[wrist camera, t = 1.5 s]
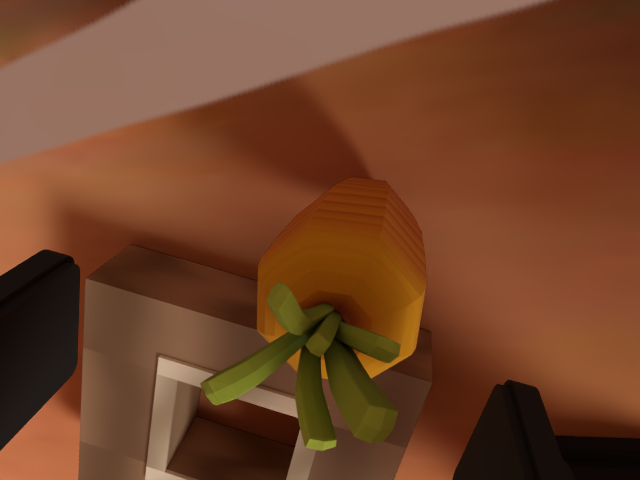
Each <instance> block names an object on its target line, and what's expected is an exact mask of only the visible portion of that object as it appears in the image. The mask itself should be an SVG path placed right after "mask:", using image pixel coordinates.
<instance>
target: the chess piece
mask: <svg viewBox="0 0 640 480" xmlns="http://www.w3.org/2000/svg"><path fill="white" fill-rule="evenodd" d="M555 439H556V441H557V444H558V447H559V450H560V453H561V456H562V458H563V461H564V462H565V463H567V464H568V465H569V467H570V469H571V470H572V472H573V475H574V478H575V480H640V439H631V438H603V437H574V436H555Z"/></svg>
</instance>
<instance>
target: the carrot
mask: <svg viewBox="0 0 640 480" xmlns="http://www.w3.org/2000/svg"><path fill="white" fill-rule="evenodd" d="M426 284H427V276H426V263H425V251H424V245H423V238H422V232H421V230H420V228H419V226H418V224H417V222H416V220H415V218H414V216H413V215H412V213H411V212H410V210H409V209H408V207H407V206H406V205H405V204H404V202H403V201H402V200H401V199H400V198H399V196H398V195H397V194H396V193H395V192H394V190H393V189H392V188H391V187H390V185H389V184H388V183H387V182H386V181H381V180H373V179H364V178H355V177H350V178H347V179H345V180H342V181H341V182H339V183H337V184H336V185H334V186H333V187H332V188H331V189H329V190H328V191H327V192H326V193H324V194H323V195H322V196H321V197H319V198H318V199H317V200H316V201H314V202H313V203H312V204H311V205H309V206H308V207H307V208H305V209H304V210H303V211H302V212H300V213H299V214H298V215H297V216H296V217H295V218H294V219H293V220H292V221H291V222H290V223H289V225H288V226H287V227H286V228H285V229H284V230H283V231H282V232H281V233H280V235H279V236H278V237H277V238H276V240H275V241H274V242H273V244H272V245H271V246H270V247H269V249H268V250H267V251H266V253H265V254H264V255H263V256H262V258H261V260H260V262H259V264H258V290H257V331H258V332H259V333H260V334H261V335H262V336H263V337H264V338H265V339H266V340H267V341H268V342H269V344H267V345H266V346H264V347H262V348H261V349H259V350H257V351H256V352H254V353H252V354H251V355H249V356H247V357H246V358H244V359H242V360H241V361H239V362H237V363H235V364H233V365H231V366H229V367H227V368H225V369H223V370H221V371H219V372H217V373H215V374H214V375H212V376H211V377H209V378H207V379H206V380H204V381H203V382H201V383H200V385H201V387H202V390H203V392H204V394H205V396H206V397H207V398H208V399H209V400H210V402H211V403H212V404H213V405H219V404H222V403H225V402H228V401H231V400H234V399H236V398H237V397H239V396H241V395H242V394H244V393H246V392H247V391H249V390H251V389H252V388H254V387H256V386H257V385H259V384H260V383H261V382H262V381H264V380H265V379H266V378H267V377H268V376H269V375H271V374H272V373H273V372H274V371H275V370H276V369H278V368H279V367H280V366H281V365H282V364H283V363H285V362H286V361H287V362H288V363H289V364H290V366H291V367H292V368H293V369H294V370H295V371H296V372H297V379H296V388H295V401H296V408H297V415H298V421H299V427H300V430H301V434H302V438H303V442H304V445H305V447H306V448H310V449H315V450H320V451H323V450H326V449H330V448H333V447H336V441H337V440H336V436H335V432H334V428H333V424H332V420H331V416H330V413H329V410H328V406H327V403H326V399H325V396H324V392H323V389H322V378H324V379H328V381H329V385H330V390H331V392H332V395H333V397H334V399H335V401H336V404H337V406H338V408H339V411H340V413H341V415H342V417H343V418H344V420H345V422H346V424H347V425H348V427H349V429H350V430H351V432H352V434H353V435H354V437H356V438H359V439H361V440H363V441H366V442H368V443H378V442H383V441H384V440H385V439H386V438H387V436H388V435H389V434H390V433H391V432H392V430H393V428H394V425H395V422H396V418H397V415H398V411H397V410H396V409H395V407H394V406H393V404H392V403H391V402H390V400H389V399H388V398H387V396H386V395H385V394H384V393H383V392H382V391H381V389H380V388H379V387H378V386H377V385H376V384H375V383H374V381H373V380H372V379H371V378H373V377H375V376H376V375H378V374H380V373H381V372H383V371H385V370H386V369H388V368H390V367H392V366H393V365H395V364H397V363H398V362H400V361H402V360H404V359H405V358H407V357H409V356H410V355H412V353H413V352H414V350H415V349H416V344H417V339H418V333H419V327H420V320H421V314H422V308H423V302H424V296H425V290H426Z"/></svg>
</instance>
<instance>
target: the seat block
mask: <svg viewBox="0 0 640 480" xmlns="http://www.w3.org/2000/svg"><path fill="white" fill-rule="evenodd" d="M257 290H258V281H255V280H252V279H248V278H245V277H241V276H238V275H235V274H231V273H228V272H224V271H221V270H218V269H214V268H211V267H207V266H204V265H201V264H197V263H194V262H190V261H187V260H183V259H180V258H177V257H173V256H170V255H166V254H163V253H160V252H156V251H153V250H149V249H146V248H143V247H139V246H136V245H132V244H131V245H129V246H128V247H127V248H125V249H124V250H123V251H121V252H120V253H119V254H117V255H116V256H115V257H113V258H112V259H111V260H109V261H108V262H107V263H105V264H104V265H103V266H101V267H100V268H99V269H97V270H96V271H95V272H93V273H92V274H91V275H89V276H88V277H87V278H85V306H84V335H83V363H82V392H81V420H80V449H79V477H78V480H394V478H395V475H396V473H397V470H398V468H399V465H400V463H401V460H402V458H403V455H404V453H405V450H406V448H407V445H408V443H409V440H410V438H411V435H412V433H413V430H414V428H415V425H416V423H417V420H418V418H419V415H420V413H421V410H422V408H423V405H424V403H425V400H426V398H427V395H428V393H429V390H430V388H431V385H432V350H431V332H429V331H426V330H422V329H419V333H418V339H417V344H416V349H415V350H414V352H413V353H412V355H410V356H409V357H407V358H405V359H404V360H402V361H400V362H398V363H397V364H395V365H393V366H392V367H390V368H388V369H386V370H385V371H383V372H381V373H380V374H378V375H376V376H375V377H373V378H371V379H372V380H373V381H374V383H375V384H376V385H377V386H378V387H379V388H380V389H381V391H382V392H383V393H384V394H385V395H386V396H387V398H388V399H389V400H390V402H391V403H392V404H393V406H394V407H395V409H396V410H397V411H398V415H397V418H396V422H395V425H394V428H393V430H392V432H391V433H390V434H389V435H388V436H387V438H386V439H385V440H384V441H383V442H378V443H368V442H366V441H363V440H361V439H359V438H356V437H354V435H353V434H352V432H351V430H350V429H349V427H348V425H347V424H346V422H345V420H344V418H343V417H342V415H341V413H340V411H339V408H338V406H337V404H336V401H335V399H334V397H333V395H332V392H331V390H330V385H329V381H328V379H324V378H322V389H323V392H324V396H325V399H326V403H327V406H328V410H329V413H330V416H331V420H332V424H333V428H334V432H335V436H336V440H337V441H336V447H333V448H330V449H326V450H323V451H320V450H315V449H310V448H306V447H305V445H304V442H303V438H302V434H301V430H300V431H299V435H298V438H297V442H296V446H295V448H294V447H291V446H288V445H285V444H281V443H278V442H275V441H272V440H269V439H266V438H263V437H259V436H256V435H253V434H250V433H247V432H244V431H241V430H237V429H234V428H231V427H228V426H225V425H222V424H219V423H215V422H212V421H209V420H206V419H203V418H200V417H197V411H198V405H199V398H200V392H201V388H202V387H201V385H200V383H201V382H203V381H204V380H206V379H207V378H209V377H211V376H212V375H214V374H215V373H217V372H219V371H221V370H223V369H225V368H227V367H229V366H231V365H233V364H235V363H237V362H239V361H241V360H242V359H244V358H246V357H247V356H249V355H251V354H252V353H254V352H256V351H257V350H259V349H261V348H262V347H264V346H266V345H267V344H269V342H268V341H267V340H266V339H265V338H264V337H263V336H262V335H261V334H260V333H259V332H258V331H257ZM296 379H297V372H296V371H295V370H294V369H293V368H292V367H291V366H290V364H289V363H288V362H287V361H286V362H285V363H283V364H282V365H281V366H280V367H279V368H278V369H276V370H275V371H274V372H273V373H272V374H271V375H269V376H268V377H267V378H266V379H265V380H264V381H262V382H261V383H260V384H259V385H257V386H256V387H254V388H252V389H251V390H249V391H247V392H246V393H244V394H242V395H241V396H239V397H237V398H236V399H239V400H242V401H245V402H248V403H252V404H255V405H258V406H261V407H264V408H267V409H271V410H274V411H277V412H280V413H283V414H287V415H290V416H293V417H296V418H298V415H297V408H296V401H295V388H296Z"/></svg>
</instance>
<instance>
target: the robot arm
mask: <svg viewBox="0 0 640 480" xmlns="http://www.w3.org/2000/svg"><path fill="white" fill-rule="evenodd" d="M79 291H80V268H79V266H78V265H76V264H74V260H73V258H72V257H71V256H68V255H65V254H61V253H58V252H54V251H51V250H42V251H40V252H38V253H37V254H35V255H33V256H32V257H30V258H29V259H27V260H25V261H24V262H22V263H21V264H19V265H17V266H16V267H14V268H13V269H11V270H9V271H8V272H6V273H4V274H3V275H1V276H0V451H1V450H2V448H3V447H4V446H5V445H6V444H7V443H8V442H9V441H10V440H11V439H12V438H13V437H14V436H15V435H16V434H17V433H18V432H19V431H20V430H21V429H22V427H23V426H24V425H25V424H26V423H27V422H28V421H29V420H30V419H31V418H32V417H33V416H34V415H35V414H36V413H37V412H38V411H39V410H40V409H41V408H42V406H43V405H44V404H45V403H46V402H47V401H48V400H49V399H50V398H51V397H52V396H53V395H54V394H55V393H56V392H57V391H58V390H59V389H60V388H61V387H62V385H63V384H64V383H65V382H66V381H67V380H68V379H69V378H70V377H71V376H72V374H73V372H74V370H75V368H76V365H77V358H78V325H79ZM453 480H575V478H574V475H573V472H572V470H571V469H570V467H569V465H568V464H567V463H565V462H564V461H563V458H562V456H561V453H560V450H559V447H558V444H557V441H556V439H555V436H554V433H553V430H552V427H551V425H550V422H549V419H548V416H547V413H546V410H545V408H544V405H543V402H542V399H541V396H540V393H539V391H538V389H537V388H536V387H533V386H530V385H526V384H523V383H519V382H516V381H512V380H507V381H506V382H505V383H504V385H501V384H497V385H496V386H495V387H494V389H493V391H492V393H491V395H490V397H489V399H488V401H487V404H486V406H485V408H484V410H483V412H482V414H481V417H480V419H479V421H478V423H477V425H476V427H475V429H474V432H473V434H472V436H471V438H470V440H469V442H468V444H467V447H466V449H465V451H464V453H463V455H462V457H461V459H460V462H459V464H458V466H457V468H456V470H455V473H454V476H453Z"/></svg>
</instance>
